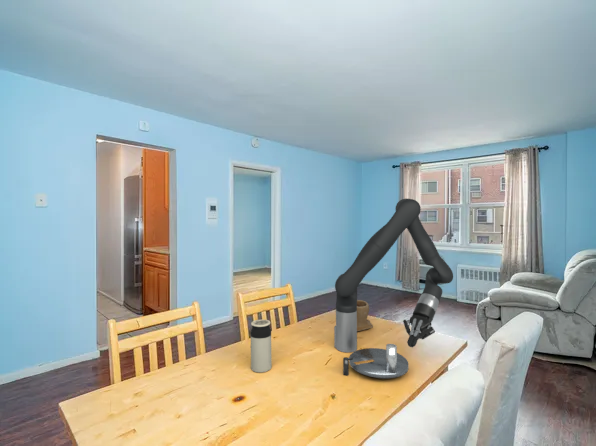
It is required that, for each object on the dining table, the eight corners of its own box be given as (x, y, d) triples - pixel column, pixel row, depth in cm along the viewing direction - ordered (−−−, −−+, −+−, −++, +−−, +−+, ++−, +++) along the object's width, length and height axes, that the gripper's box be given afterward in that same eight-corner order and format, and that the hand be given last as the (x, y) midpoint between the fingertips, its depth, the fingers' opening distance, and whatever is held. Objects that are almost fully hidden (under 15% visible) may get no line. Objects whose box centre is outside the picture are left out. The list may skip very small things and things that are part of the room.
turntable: (346, 351, 134) (346, 326, 134) (399, 352, 133) (399, 327, 133) (352, 377, 112) (352, 347, 112) (416, 378, 111) (416, 349, 111)
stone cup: (355, 335, 158) (355, 305, 157) (341, 328, 168) (341, 300, 168) (379, 330, 164) (379, 301, 164) (365, 323, 175) (364, 296, 175)
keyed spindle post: (342, 374, 119) (342, 358, 119) (373, 359, 131) (373, 344, 131) (370, 387, 109) (370, 370, 109) (400, 370, 122) (400, 354, 122)
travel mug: (275, 367, 125) (275, 322, 124) (260, 375, 119) (259, 327, 118) (262, 361, 130) (261, 317, 130) (246, 368, 124) (246, 322, 124)
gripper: (407, 299, 132) (391, 336, 124) (439, 305, 122) (423, 346, 114) (414, 309, 135) (398, 345, 128) (445, 316, 125) (430, 356, 117)
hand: (410, 346), depth 121 cm, fingers closed
